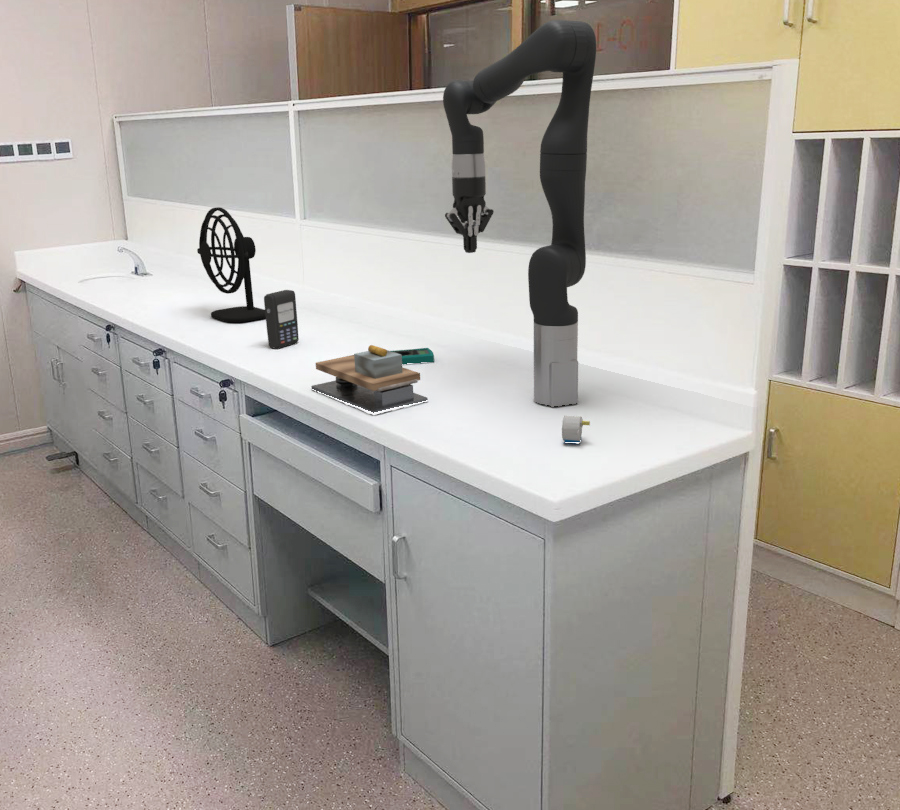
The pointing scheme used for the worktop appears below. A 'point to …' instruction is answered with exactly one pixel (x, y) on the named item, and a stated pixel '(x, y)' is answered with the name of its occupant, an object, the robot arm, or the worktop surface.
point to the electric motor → (572, 428)
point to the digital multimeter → (416, 355)
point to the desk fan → (243, 252)
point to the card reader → (281, 318)
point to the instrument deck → (360, 379)
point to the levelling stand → (369, 395)
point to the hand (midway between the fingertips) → (470, 252)
